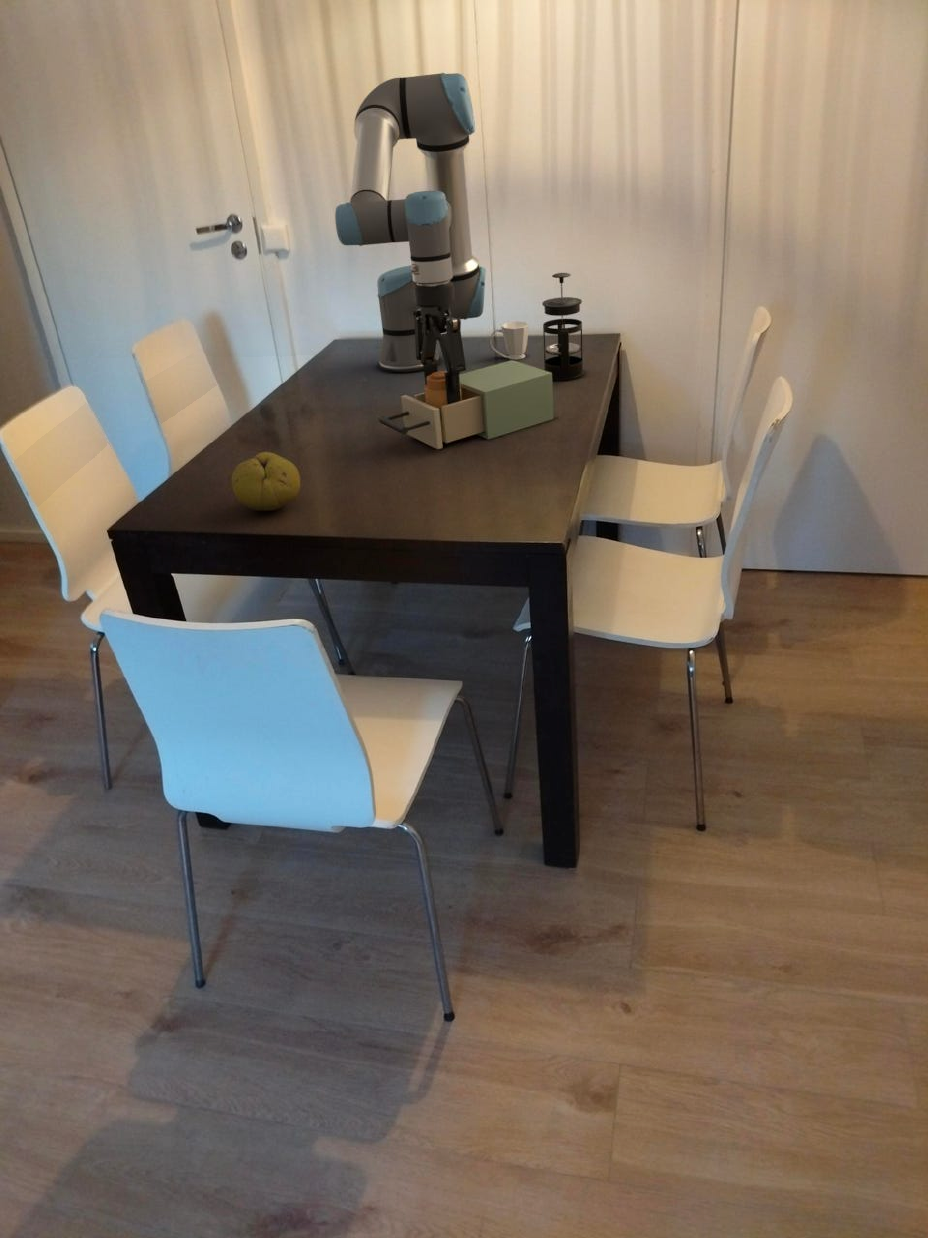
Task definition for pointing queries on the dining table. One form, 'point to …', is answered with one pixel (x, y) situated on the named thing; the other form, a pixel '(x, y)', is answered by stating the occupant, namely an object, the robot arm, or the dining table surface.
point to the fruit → (265, 482)
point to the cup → (513, 339)
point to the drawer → (439, 419)
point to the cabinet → (511, 396)
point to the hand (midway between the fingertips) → (443, 400)
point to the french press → (563, 336)
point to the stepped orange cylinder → (436, 390)
